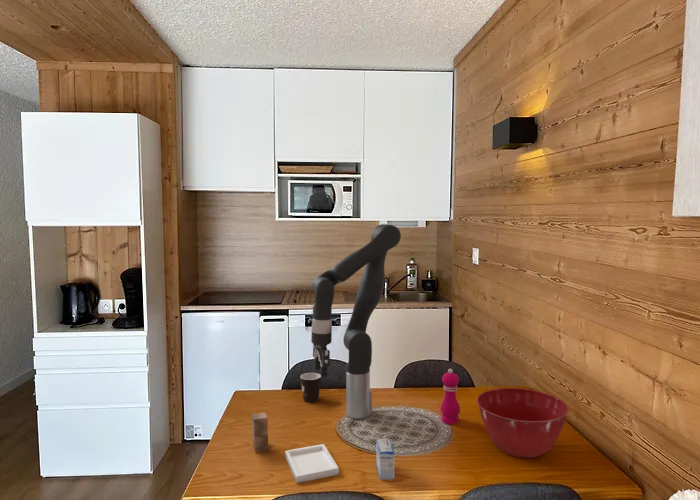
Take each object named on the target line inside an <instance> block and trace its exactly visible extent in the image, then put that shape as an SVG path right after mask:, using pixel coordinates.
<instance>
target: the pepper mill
mask: <svg viewBox="0 0 700 500" xmlns="http://www.w3.org/2000/svg"><path fill="white" fill-rule="evenodd" d="M453 371H454V370H453V369H452V368H449V369H448V370H447V372H445V373H443V375H442V378H441V380H442V381H441V382H442V383H443V391H444V397H443V400H442V402H441V403H440V412H441V421H442V422H443V423H444V424H447V425H456V424H458V423H459V422H460V418H459V417H460V416H459V415H460V414H461V407H460V404H459V401H458V399H457V391H458V384H459V382H460V381H459V380H460V379H459V376H458V375H457V374H456V373H455V372H453Z"/></svg>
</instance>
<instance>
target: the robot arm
mask: <svg viewBox="0 0 700 500" xmlns="http://www.w3.org/2000/svg"><path fill="white" fill-rule="evenodd" d="M401 237H402V235H401V231H400V229H399V228H398V227H397V226H395V225H393V224H383V223H382V224H378V225H376V226H375V227H374V229H373V231H372V233H371V237H370V241H369V242H368V243H367V244H365V245H364V246H362V247H361V248H359V249H357V250H355V251H353V252H351V253H350V254H348V255H346V256H345V257H343V258H342V259H341V260H340V261H339V262H337V263H336V264H335V265H333V266H332V267H331V268H330V269H328V270H326V271H324V272H322V273H321V274H319V275H318V276H317V277H315V278H314V279H313V281H312V282H311V290H312V292H313V293H314V294H315V303H314V304H313V306H312V320H311V339H310V341H311V343H312V345H313V346H312V357H313V360H314V370H315V371H319V370H320V375H321V378H326V377H327V376H328V367H330V366H331V365H330V364H331V363H330V362H331V361H330V359H331V358H330V356H331V355H330V353H331V352H330V351H331V350H330V349H328V347H327V346H328V345H330V344H331V343H332V335H333V332H332V331H333V328H332V327H333V323H332V315H333V314H332V311H333V310H332V307H333V302H334V297H335V286H337V285H338V284H340V283H345V282H346V281H347V280H348V279H350V278H351V277H352V276H353V275H354V274H356V273H357V272H358V271H360V270H361V269H362V268H363V267H364V268H363V273H362V275H361V279H360V282H359V285H358V289H357V292H356V293H357V294H356V298H355V301H354V305H353V309H352V312H351V316H350V319H349V322H348V324H347V327H346V330H345V333H344V335H343V344H344V347H345V348H346V349H347V350H348V361H347V362H346V365H345V382H346V383H345V386H346V387H345V388H346V393H345V394H346V395H345V396H346V397H345V398H346V408H345V409H346V416H348V417H349V418H352V419H357V420H359V419H366V418H369V416H373V391H372V390H371V369H370V368H371V365H372V357H373V355H372V354H373V341H372V338H371V336H370V335H369V334H368V333H367V329H368V324H369V319H370V318H371V315H372V314H373V313H374V310H375V309H376V308H377V307H378V304H379V302H380V301H381V298H382V294H383V290H384V286H385V282H386V281H385V280H386V279H385V261H386V258H387V255H388V251H389V250H391V249H393V248H395V247H396V246H398V244H399V243H400V241H401V239H402V238H401Z"/></svg>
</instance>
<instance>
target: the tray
mask: <svg viewBox="0 0 700 500" xmlns="http://www.w3.org/2000/svg"><path fill="white" fill-rule="evenodd" d="M284 457H285V459H286V462H287V464H288V466H289V469H290V471H291V474H292V477H294V481H295V483H296V484H299V483H304V482H308V481H313V480H318V479H323V478H329V477H333V476H338V475H340V473H339V472H340V470H339V469H340V468H339V466H338V465H337V463H336V461H335V459H334V458H333V456H332V455H331V454H330V452H329V451H328V449H327V447H326V445H325V444H324V443H321V444H316V445H312V446H311V445H310V446H304V447H299V448H293V449H289V450H285V451H284Z"/></svg>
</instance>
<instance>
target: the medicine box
mask: <svg viewBox="0 0 700 500" xmlns="http://www.w3.org/2000/svg"><path fill="white" fill-rule="evenodd" d="M375 447H376V448H375V449H376V454H375V455H376V460H375V461H376V463H375V465H376V470H377V474H378V477H379V479H380V481H384V480H385V481H386V480H395V472H396V471H395V454H396V453H395V451H394V447H393V444H392V442H391V439H390V438H389V439H388V438H387V439H384V438H382V439H376V446H375Z"/></svg>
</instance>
